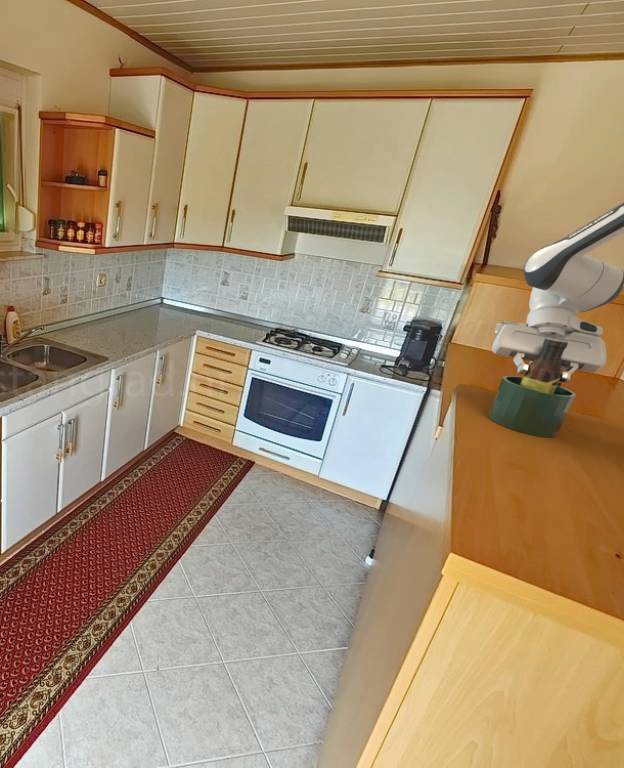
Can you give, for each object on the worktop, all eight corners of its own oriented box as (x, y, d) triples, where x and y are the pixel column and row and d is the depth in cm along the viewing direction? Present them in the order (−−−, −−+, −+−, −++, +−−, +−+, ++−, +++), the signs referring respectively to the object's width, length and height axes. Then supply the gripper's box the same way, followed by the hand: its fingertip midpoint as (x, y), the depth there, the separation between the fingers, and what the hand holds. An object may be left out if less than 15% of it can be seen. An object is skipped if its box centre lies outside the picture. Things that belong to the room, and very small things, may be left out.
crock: (548, 424, 119) (566, 385, 115) (564, 443, 108) (584, 401, 104) (483, 408, 124) (498, 372, 121) (492, 425, 113) (509, 385, 110)
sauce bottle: (542, 429, 111) (579, 345, 105) (508, 421, 114) (543, 339, 107) (536, 420, 117) (572, 340, 110) (504, 413, 120) (537, 334, 113)
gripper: (502, 311, 118) (493, 358, 113) (612, 329, 109) (608, 381, 104) (492, 327, 123) (483, 372, 118) (596, 345, 114) (592, 394, 109)
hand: (543, 376), depth 111 cm, fingers closed on sauce bottle, 6 cm apart
